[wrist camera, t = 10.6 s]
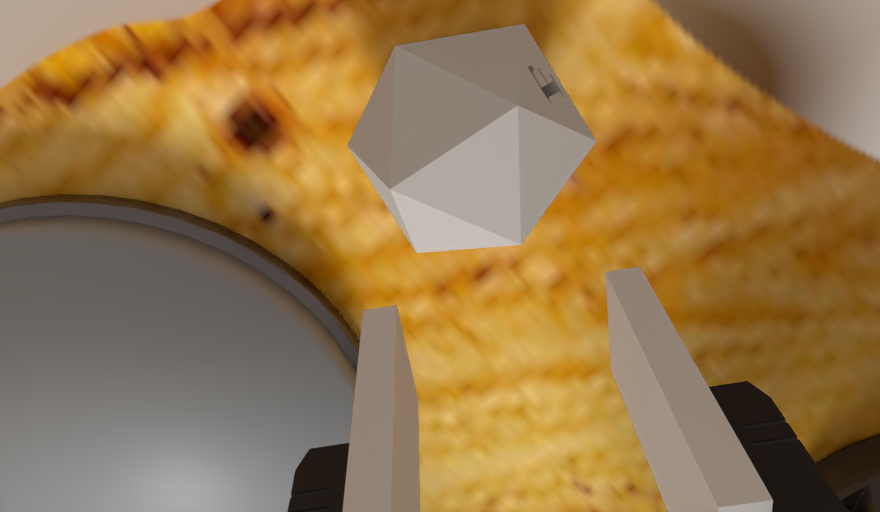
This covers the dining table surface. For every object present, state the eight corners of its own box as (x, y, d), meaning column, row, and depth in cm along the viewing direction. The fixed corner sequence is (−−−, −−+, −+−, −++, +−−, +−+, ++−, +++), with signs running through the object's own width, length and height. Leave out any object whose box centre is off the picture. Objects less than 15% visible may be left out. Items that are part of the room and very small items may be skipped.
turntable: (-21, 96, 29) (-160, 171, 22) (474, 403, 37) (488, 529, 30) (-221, 476, 38) (-364, 615, 31) (213, 653, 46) (178, 793, 39)
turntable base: (316, 148, 31) (313, 157, 31) (422, 557, 44) (422, 571, 44) (-266, 246, 33) (-285, 257, 32) (3, 616, 46) (-6, 631, 45)
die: (552, 198, 34) (676, 148, 25) (404, 300, 31) (482, 285, 22) (459, 48, 33) (550, -61, 24) (300, 139, 31) (335, 56, 21)
